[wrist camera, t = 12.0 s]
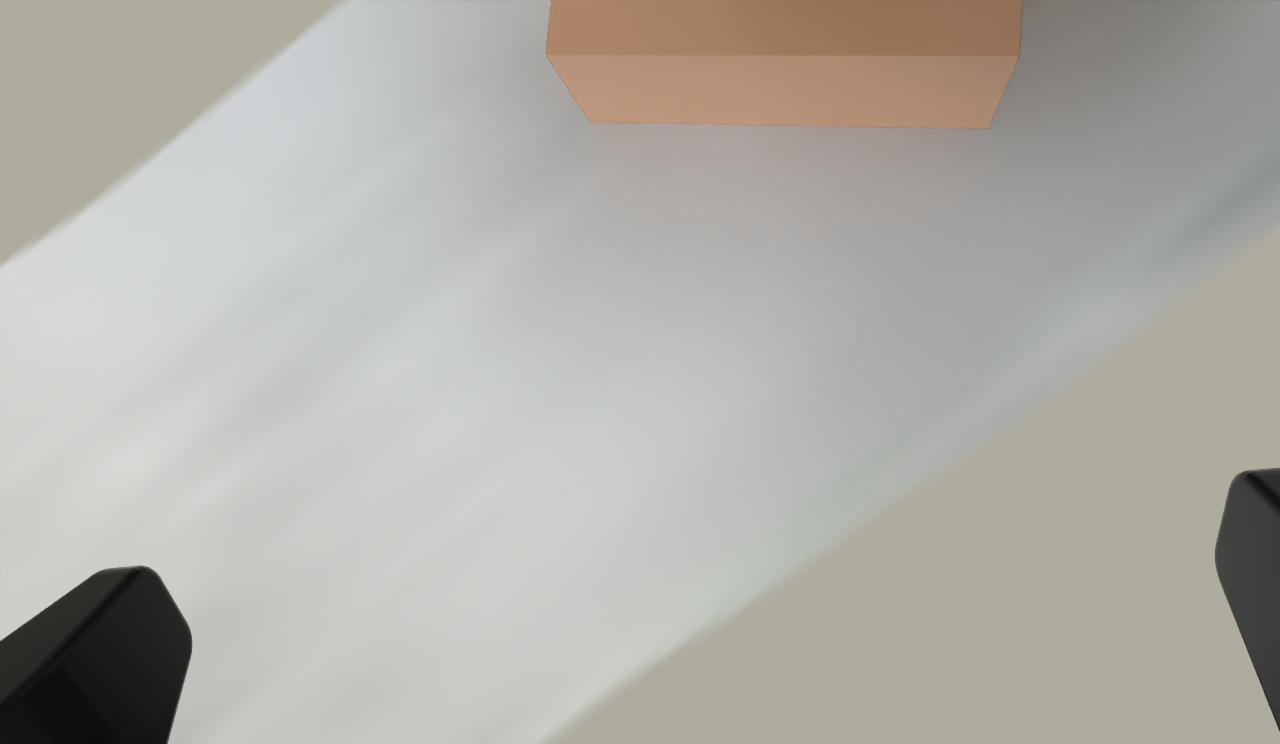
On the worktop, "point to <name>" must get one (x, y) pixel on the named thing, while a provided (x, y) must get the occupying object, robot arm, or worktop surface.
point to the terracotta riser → (787, 61)
